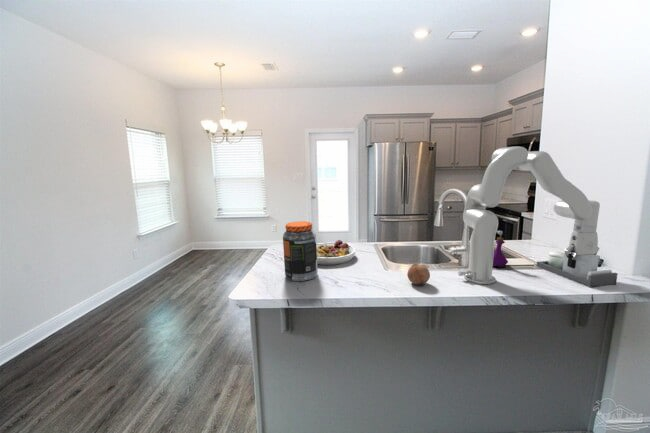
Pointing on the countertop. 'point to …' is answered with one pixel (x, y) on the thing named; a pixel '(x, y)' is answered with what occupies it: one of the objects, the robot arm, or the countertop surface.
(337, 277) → the countertop surface
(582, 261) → the skincare box
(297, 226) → the supplement tub
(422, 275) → the onion
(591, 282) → the grey shallow rectangular tray
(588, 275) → the pusher
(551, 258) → the cream jar
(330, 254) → the bowl
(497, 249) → the perfume bottle
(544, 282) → the countertop surface
